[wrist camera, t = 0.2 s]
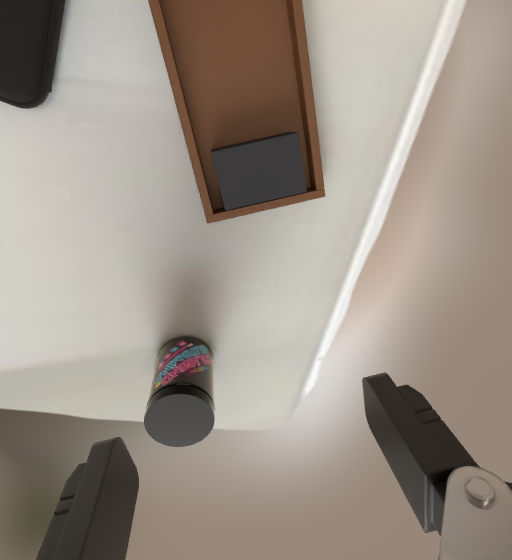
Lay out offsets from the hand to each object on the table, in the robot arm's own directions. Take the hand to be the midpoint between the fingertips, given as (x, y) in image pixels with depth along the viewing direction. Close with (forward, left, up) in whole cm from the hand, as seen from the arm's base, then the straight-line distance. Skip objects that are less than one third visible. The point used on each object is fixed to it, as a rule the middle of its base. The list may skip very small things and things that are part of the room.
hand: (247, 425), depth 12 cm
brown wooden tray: (-11, +5, -29) cm, 31 cm away
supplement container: (+16, -8, -29) cm, 34 cm away
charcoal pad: (-4, +5, -28) cm, 29 cm away
